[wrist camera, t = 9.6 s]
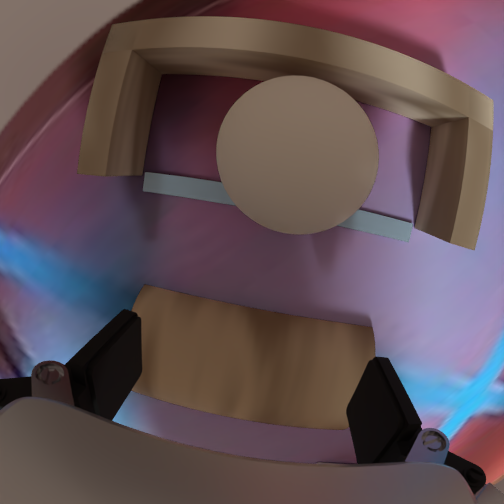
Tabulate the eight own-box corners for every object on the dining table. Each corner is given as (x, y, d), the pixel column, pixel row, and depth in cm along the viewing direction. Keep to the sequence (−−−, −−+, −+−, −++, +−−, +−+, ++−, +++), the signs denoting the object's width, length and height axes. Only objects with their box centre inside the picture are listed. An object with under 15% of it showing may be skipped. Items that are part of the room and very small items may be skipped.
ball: (384, 267, 8) (340, 236, 14) (414, 78, 7) (362, 119, 12) (180, 225, 8) (219, 211, 14) (221, 35, 7) (242, 94, 13)
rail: (455, 111, 11) (493, 100, 8) (437, 234, 13) (474, 250, 10) (143, 49, 12) (112, 24, 9) (117, 172, 14) (77, 173, 10)
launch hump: (352, 292, 20) (390, 354, 12) (322, 379, 22) (335, 453, 14) (173, 258, 20) (119, 303, 12) (167, 350, 22) (128, 415, 14)
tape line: (412, 223, 13) (413, 223, 13) (407, 241, 14) (408, 242, 13) (146, 172, 14) (145, 172, 14) (143, 191, 14) (142, 191, 14)
